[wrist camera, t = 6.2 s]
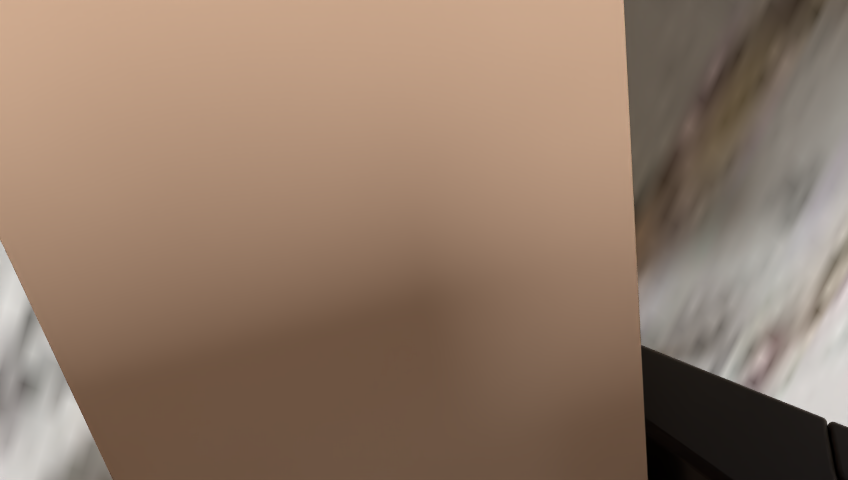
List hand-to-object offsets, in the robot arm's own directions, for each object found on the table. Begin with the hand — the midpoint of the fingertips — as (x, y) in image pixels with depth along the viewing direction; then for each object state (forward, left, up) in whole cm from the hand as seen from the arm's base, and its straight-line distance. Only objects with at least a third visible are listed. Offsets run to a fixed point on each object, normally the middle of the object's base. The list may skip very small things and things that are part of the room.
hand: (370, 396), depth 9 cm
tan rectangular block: (0, 0, -1) cm, 1 cm away
